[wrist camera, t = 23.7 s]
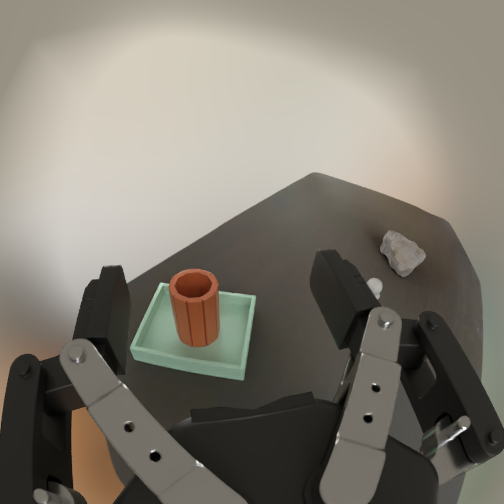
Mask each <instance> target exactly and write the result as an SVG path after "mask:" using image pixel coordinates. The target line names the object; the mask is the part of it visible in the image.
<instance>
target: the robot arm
mask: <svg viewBox="0 0 504 504" xmlns="http://www.w3.org/2000/svg"><path fill="white" fill-rule="evenodd" d="M310 288H311V291H312V294H313V296H314V298H315V300H316V302H317V304H318V306H319V308H320V310H321V312H322V314H323V316H324V318H325V321H326V323H327V325H328V327H329V329H330V331H331V333H332V335H333V338H334V340H335V342H336V344H337V346H338V348H339V350H340V349H344V348H349V349H350V351H351V352H350V354H349V357H348V360H347V363H346V366H345V369H344V372H343V375H342V378H341V381H340V384H339V387H338V390H337V393H336V395H335V397H334V399H333V401H332V402H331V401H327V400H322V399H314V397H313V394H312V391H311V392H307V393H302V394H297V395H292V396H287V397H283V398H281V399H279V400H276V401H274V402H272V403H269V404H267V405H265V406H262V407H260V408H258V409H239V408H229V407H214V408H204V409H193V410H191V417H190V418H187V419H185V420H183V421H180V422H178V423H177V424H175V425H174V426H172V427H171V428H170V429H168V430H167V431H166V430H165V429H164V428H163V427H162V426H161V425H160V424H159V423H158V422H157V421H156V420H155V418H154V417H153V416H152V415H151V414H150V413H149V412H148V411H147V410H146V409H145V407H144V406H143V405H142V404H141V403H140V402H139V401H138V399H137V398H136V397H135V396H134V395H133V393H132V392H131V391H130V390H129V389H128V388H127V386H126V385H125V384H124V383H121V381H120V380H119V379H118V378H117V375H123V374H125V367H126V351H127V338H128V327H129V316H130V294H129V290H128V287H127V283H126V280H125V276H124V272H123V269H122V266H121V265H112V266H103V267H102V270H101V274H100V278H99V279H96V280H92V281H91V282H90V283H89V284H88V286H87V287H86V288H85V291H84V294H83V298H82V302H81V305H80V309H79V314H78V317H77V322H76V326H75V330H74V335H73V339H72V341H70V342H68V343H67V344H66V345H65V346H64V347H63V348H62V350H61V352H60V355H58V356H56V357H53V358H49V359H46V360H43V361H39V360H38V359H37V358H36V356H34V355H32V354H24V355H21V356H19V357H18V358H16V359H15V361H14V362H13V363H12V365H11V368H10V372H9V377H8V382H7V387H6V393H5V399H4V406H3V413H2V421H1V430H0V504H87V502H86V500H85V498H84V497H83V496H82V495H81V494H80V493H79V492H77V491H75V490H74V489H73V477H72V455H71V418H72V410H76V409H79V408H82V407H87V408H86V409H87V411H88V412H89V414H90V416H91V417H92V418H93V420H94V421H95V423H96V424H97V426H98V427H99V428H100V430H101V431H102V432H103V434H104V435H105V437H106V438H107V439H108V441H109V442H110V443H111V444H112V446H113V447H114V448H115V450H116V451H117V452H118V453H119V455H120V456H121V457H122V458H123V459H124V461H125V462H126V463H127V464H128V465H129V467H130V468H131V469H132V470H133V471H134V472H135V474H134V476H133V477H132V478H131V480H130V481H129V482H128V484H127V485H126V486H125V488H124V489H123V491H122V492H121V494H120V495H119V496H118V497H117V499H116V500H115V501H114V503H113V504H437V499H438V490H439V486H440V485H442V484H444V483H445V482H447V481H449V480H450V479H453V478H455V477H457V476H459V475H461V474H463V473H465V472H467V471H469V470H471V469H473V468H475V467H477V466H479V465H480V464H482V463H484V462H486V461H488V460H489V459H491V458H493V457H494V456H496V455H498V454H499V453H500V452H502V450H503V449H504V428H503V426H502V424H501V422H500V420H499V418H498V415H497V413H496V411H495V409H494V407H493V405H492V403H491V401H490V399H489V397H488V395H487V393H486V391H485V389H484V387H483V385H482V383H481V381H480V380H479V378H478V376H477V374H476V372H475V370H474V369H473V367H472V365H471V363H470V362H469V360H468V358H467V356H466V355H465V353H464V351H463V350H462V348H461V346H460V345H459V343H458V341H457V340H456V338H455V336H454V335H453V333H452V332H451V330H450V328H449V327H448V325H447V324H446V322H445V321H444V319H443V318H442V317H441V316H440V315H438V314H437V313H435V312H431V311H425V312H422V313H421V314H420V316H419V317H418V319H417V320H411V319H401V318H400V317H399V315H398V314H397V313H396V312H395V311H393V310H391V309H389V308H386V307H382V306H381V305H380V303H379V302H378V300H377V298H376V297H375V295H374V294H373V292H372V291H371V289H370V288H369V286H368V285H367V283H365V280H364V279H363V277H361V274H360V273H359V271H358V270H357V268H356V267H355V266H354V265H353V264H351V263H350V262H349V261H347V260H342V258H341V257H340V255H339V254H338V252H337V251H336V250H335V249H326V250H317V252H316V254H315V258H314V262H313V267H312V271H311V275H310ZM427 358H428V359H429V360H430V362H431V364H432V366H433V368H434V370H435V372H436V377H437V378H436V380H435V378H434V376H433V374H432V372H431V370H430V368H429V366H428V364H427V362H426V359H427ZM399 380H401V382H402V384H403V387H404V389H405V391H406V393H407V396H408V398H409V400H410V402H411V405H412V407H413V409H414V412H415V414H416V416H417V419H418V421H419V424H420V426H421V428H422V431H423V433H424V435H423V437H422V445H421V447H420V453H419V452H417V451H415V450H413V449H412V448H410V447H408V446H406V445H405V444H403V443H401V442H400V441H398V440H396V439H394V438H393V437H391V436H389V435H388V433H389V429H390V425H391V421H392V416H393V412H394V407H395V402H396V397H397V392H398V386H399Z"/></svg>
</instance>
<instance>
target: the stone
mask: <svg viewBox="0 0 504 504" xmlns="http://www.w3.org/2000/svg"><path fill="white" fill-rule="evenodd" d="M380 251H381V253H382V254H384V255H386V256H387V258H388V261H389V264H390V266H391V268H393V269H395V271H396V272H397V274H398V275H400V276H401V277H406V276H408V274H410V273H411V272H412V271H413V269H414V268H415V267H416V266H418V265H419V264H420V263H421V262H423V260H424V259H425V257H426V254H425V253H424V251H423V250H422V249H420V248H418V246H417V244H416V243H415V242H413V241H409V240H407V238H406V237H404V236H403V235H402V234H400V233H396V232H394V231H393V230H390V231H388V232H387V234H386V235H385V236H384V238H383V243H382V244H381V247H380Z"/></svg>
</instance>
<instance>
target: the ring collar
mask: <svg viewBox="0 0 504 504" xmlns="http://www.w3.org/2000/svg"><path fill="white" fill-rule="evenodd" d="M169 293H170V299H171V305H172V310H173V316H174V321H175V326H176V331H177V334H178V336H179V339H180V341H182V343H184V344H186V345H188V346H190V347H193V346H194V348H195V347H206V345H207V346H208V345H210V344H211V343H213V342H214V341H215V340H217V338H218V335H219V331H220V317H219V284H218V281H217V279H216V278H215V276H214V275H213V274H212V273H210V272H208V271H205V270H202V269H200V270H199V269H187V270H186V271H185V270H184V271H182V272H180V273H178V274H176V275H175V276H174V277H172V279H171V281H170V284H169Z"/></svg>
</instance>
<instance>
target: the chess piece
mask: <svg viewBox="0 0 504 504" xmlns="http://www.w3.org/2000/svg"><path fill="white" fill-rule="evenodd" d="M367 285H368V286H369V288H370V289H371V291H372V292H373V294H374V295H375V297H376V298H377V299H378V298H379V297H380V292H381V290H382V282H381V281H380V280H379V279H376V278H372V279H370V280H369V281H368V282H367Z"/></svg>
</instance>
